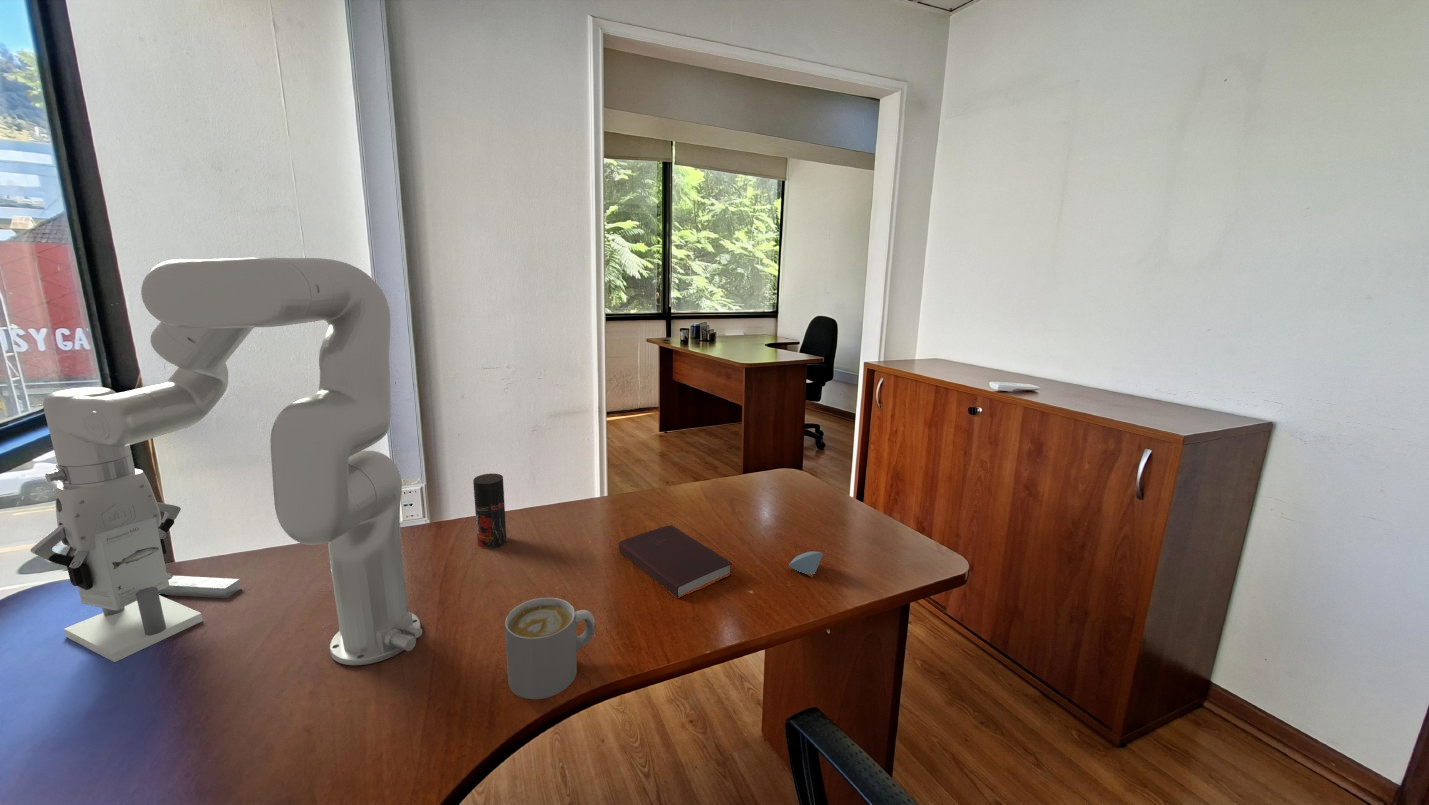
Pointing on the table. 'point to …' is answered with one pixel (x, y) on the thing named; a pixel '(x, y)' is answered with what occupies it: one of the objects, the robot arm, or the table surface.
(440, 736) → the table surface
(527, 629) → the coffee mug
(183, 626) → the cradle
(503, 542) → the deodorant
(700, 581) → the book
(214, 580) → the bar
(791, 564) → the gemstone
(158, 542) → the supplement box
